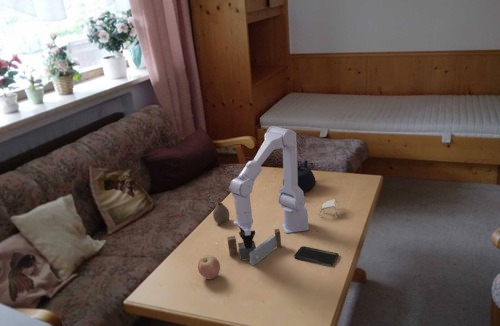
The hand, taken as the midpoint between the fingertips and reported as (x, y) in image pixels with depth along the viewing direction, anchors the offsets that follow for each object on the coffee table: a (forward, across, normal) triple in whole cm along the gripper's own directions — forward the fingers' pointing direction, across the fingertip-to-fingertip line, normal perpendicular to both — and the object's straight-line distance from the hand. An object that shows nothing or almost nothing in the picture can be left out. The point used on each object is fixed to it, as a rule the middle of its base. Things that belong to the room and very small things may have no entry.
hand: (247, 242), depth 170 cm
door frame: (+6, -3, +3) cm, 7 cm away
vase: (+6, -29, -7) cm, 30 cm away
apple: (+6, +9, -15) cm, 19 cm away
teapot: (+6, -50, +33) cm, 60 cm away
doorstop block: (+6, 0, 0) cm, 6 cm away
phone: (+6, +8, +24) cm, 26 cm away
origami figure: (+6, -22, +39) cm, 45 cm away
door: (+6, +2, +6) cm, 8 cm away
